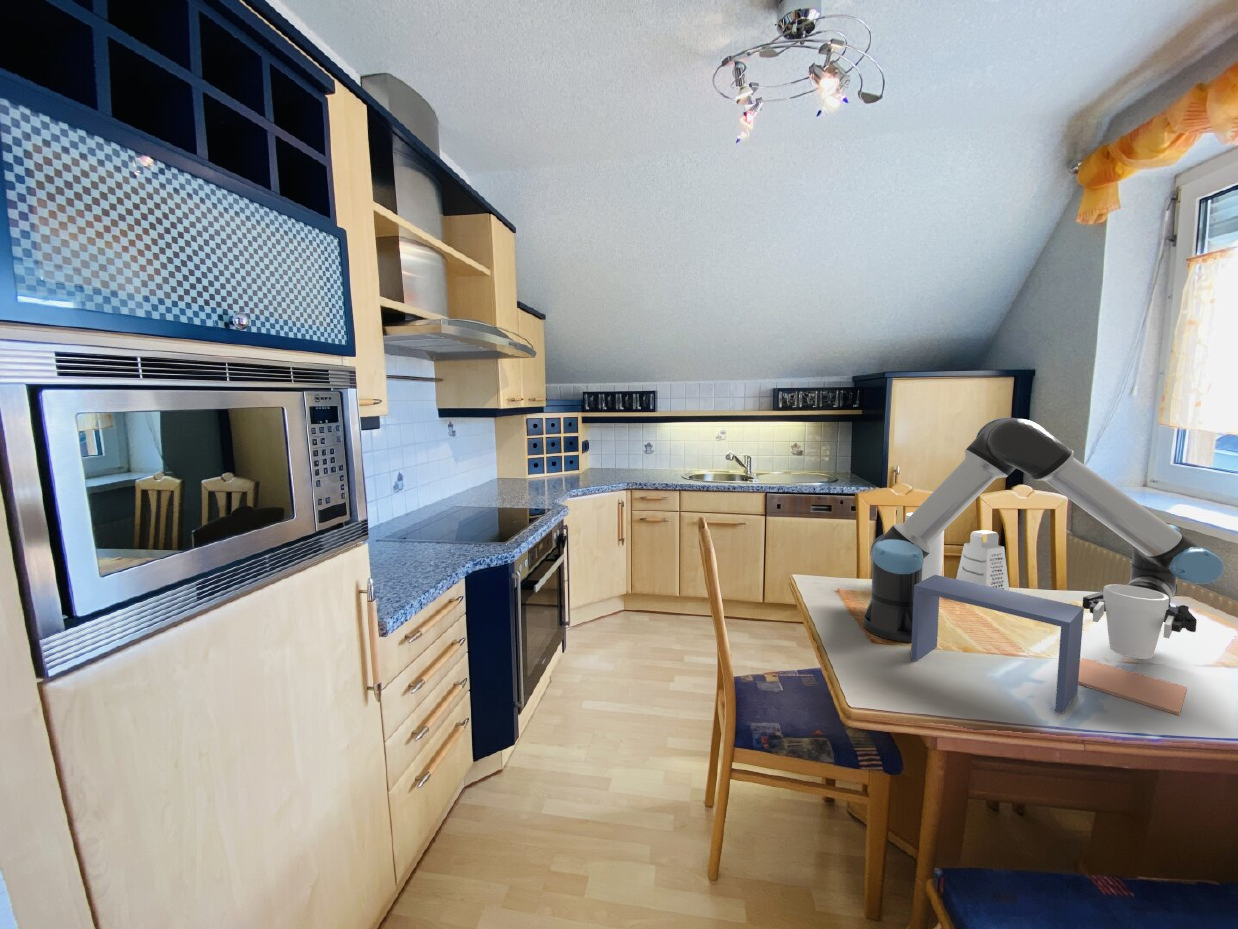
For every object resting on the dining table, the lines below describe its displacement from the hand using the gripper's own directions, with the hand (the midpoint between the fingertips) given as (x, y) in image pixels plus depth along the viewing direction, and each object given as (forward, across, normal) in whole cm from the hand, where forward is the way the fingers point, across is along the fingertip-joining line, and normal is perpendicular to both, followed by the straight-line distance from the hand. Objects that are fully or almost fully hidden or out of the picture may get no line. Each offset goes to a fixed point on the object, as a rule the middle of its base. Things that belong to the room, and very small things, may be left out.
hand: (1129, 623), depth 101 cm
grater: (-45, +38, -15) cm, 61 cm away
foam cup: (-4, 0, -8) cm, 9 cm away
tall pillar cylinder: (-33, +51, -15) cm, 63 cm away
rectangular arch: (+13, +20, -15) cm, 28 cm away
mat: (-4, 0, -15) cm, 16 cm away
